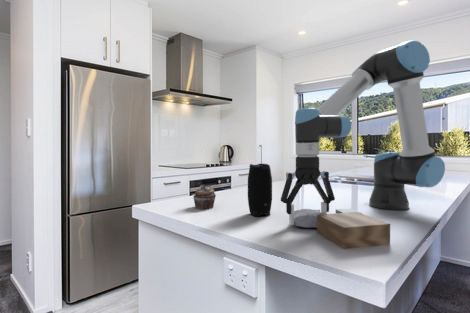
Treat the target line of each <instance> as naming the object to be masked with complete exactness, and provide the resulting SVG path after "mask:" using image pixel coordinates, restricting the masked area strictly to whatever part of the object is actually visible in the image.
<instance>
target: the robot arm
mask: <svg viewBox="0 0 470 313" xmlns="http://www.w3.org/2000/svg"><path fill="white" fill-rule="evenodd" d="M430 61H431V58H430V52H429V51H428V49H427V47H426V46H425V45H424V44H422V42H420V41H419V40H414V39H413V40H408V41H407V40H406V41H404V42H401V43H398V44H396V45H393V46H390V47H388V48H386V49H382V50H380V51H377V52H375V53H374V54H372V55H371V56H370V57H368V58H367V59H366V60H365V61H363V63H362V64H359V66H358V67H357V68H356V69H355V70H354V71H352V73H351V77H350V78H348V79H347V81H346V82H344V84H342V85H341V86H340V87H339V88H338V89H337V90H336V91H335V92H334V93H332V94H331V95H330V97H328V98H327V99H326V100H325V101H324V102H322V104H321V105H320V106H318V107H317V108H316V107H303V108H299V109H297V110H296V111H295V116H294V117H295V120H294V124H295V128H294V129H295V130H294V131H295V155H296V157H295V170H294V172H286V173H285V176H286V178H285V179H286V181H285V183H284V187H283V190H282V193H281V197H280V202H281V203H284V204H285V206H286V209H285V211H286V214H287V215H288V217H289V218H288V220H289V222H288V223H289V224H291V225H293V226H295V225H294V211H295V205H294V204H293V202H294V200H295V199H296V196H297V195H298V193H299V191H300V189H301V188H302V187H303V185H305V186H306V185H313V186H314V188H315V189H316V191H317V193H318V194H319V196H320V197H321V199H322V201H320V212H321V213H322V214H328V213H329V212H330V203H331V202H332V201H335V199H336V197H335V195H334V191H333V188H332V185H331V182H330V173H329V172H328V171H325V170H324V171H320V157H319V156H318V155H320V139H322V138H323V139H325V138H326V139H327V138H331V139H332V138H336V139H337V138H338V139H339V138H345V137H347V136H348V135H349V134H350V133H351V130H352V121H351V119H350V117H348V116H347V115H343V114H342V115H340V114H341V113H343V111H344V110H346V109H348V107H349V106H350V105H351V104H352V103H353V102H354V101H355V100H357V98H358V97H360V95H362V94H363V93H364V92H365V91H368V90H371V89H372V88H373V87H374V86H375V85H378V84H379V83H383V82H386V81H387V86H389V87H390V88H392V91H393V96H394V101H395V102H394V104H395V108H396V115H397V122H398V127H399V133H400V140H401V146H402V150H401V151H397V152H396V151H394V152H382V153H378V154H376V155H374V162H373V189H372V192H371V194H370V198H369V204H368V205H369V206H370V207H373V208H377V209H384V210H391V211H392V210H395V211H397V210H398V211H399V210H401V211H402V210H408V209H409V208H410V202H409V199H408V197H407V193H406V191H405V185H407V186H413V187H418V188H433V187H435V186H437V185H438V184H440V182H441V181H442V179H443V178H444V175H445V173H446V172H445V170H446V164H445V161H444V160H443V159H442V158H441V157H439V156H436V152H435V149H434V148H432V147H431V146H430V145H429V138H428V130H427V129H428V128H427V123H426V117H425V116H426V115H425V111H424V110H425V109H424V102H423V96H422V89H421V81H422V80H423V79H424V77H425V74H424V72H425V71H426V70H427V69H428V67H429V64H430ZM295 177H296V182H295V183H294V186H293V187H292V190H291V186H292V183H293V180H294V179H295ZM319 178H321V180H322V182H323V186H324V188H323V187H322V185H321V183H320V181H319V180H318V179H319ZM324 189H325V190H324ZM290 190H291V192H290Z"/></svg>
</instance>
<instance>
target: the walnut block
mask: <svg viewBox="0 0 470 313" xmlns="http://www.w3.org/2000/svg"><path fill="white" fill-rule="evenodd" d="M359 212H360V211H359ZM359 212H350V213H336V212H335V213H327V214H321V215H317V227H316V234H318V235H320V236H321V237H323V238H324V239H327V240H328V241H329V242H331V243H333V244H335V245H337V246H338V247H339V248H341V249H343V250H348V249H350V250H351V249H360V248H369V247H379V246H381V247H382V246H389V245H391V223H389V222H387V221H384V220H380V219H377V218H375V217H372V216H370V215H367V214H364V213H362V212H361V213H362V214H361V213H359Z"/></svg>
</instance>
